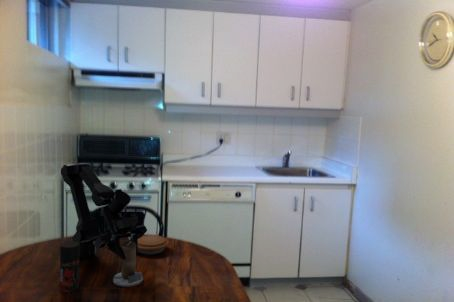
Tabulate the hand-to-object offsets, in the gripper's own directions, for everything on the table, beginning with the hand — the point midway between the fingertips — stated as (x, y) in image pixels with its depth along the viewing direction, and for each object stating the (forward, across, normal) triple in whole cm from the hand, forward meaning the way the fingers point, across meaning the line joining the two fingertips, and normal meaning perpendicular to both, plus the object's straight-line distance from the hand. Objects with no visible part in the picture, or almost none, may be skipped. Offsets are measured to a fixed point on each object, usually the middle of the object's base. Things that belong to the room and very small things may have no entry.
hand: (131, 257), depth 134 cm
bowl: (+5, 0, +7) cm, 9 cm away
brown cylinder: (+4, 0, +6) cm, 7 cm away
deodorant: (0, -17, +13) cm, 22 cm away
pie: (-8, +24, +20) cm, 32 cm away
